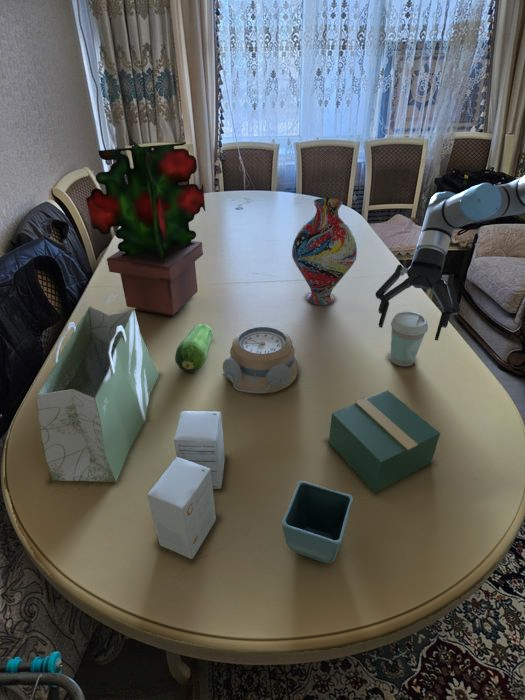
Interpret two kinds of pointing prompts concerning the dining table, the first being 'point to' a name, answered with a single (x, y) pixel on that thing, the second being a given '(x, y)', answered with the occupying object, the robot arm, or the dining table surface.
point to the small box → (183, 506)
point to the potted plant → (151, 224)
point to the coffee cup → (406, 337)
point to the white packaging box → (202, 442)
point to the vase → (324, 250)
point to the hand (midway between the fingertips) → (407, 332)
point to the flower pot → (316, 521)
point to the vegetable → (194, 348)
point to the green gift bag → (95, 397)
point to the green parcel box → (382, 439)
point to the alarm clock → (261, 361)
